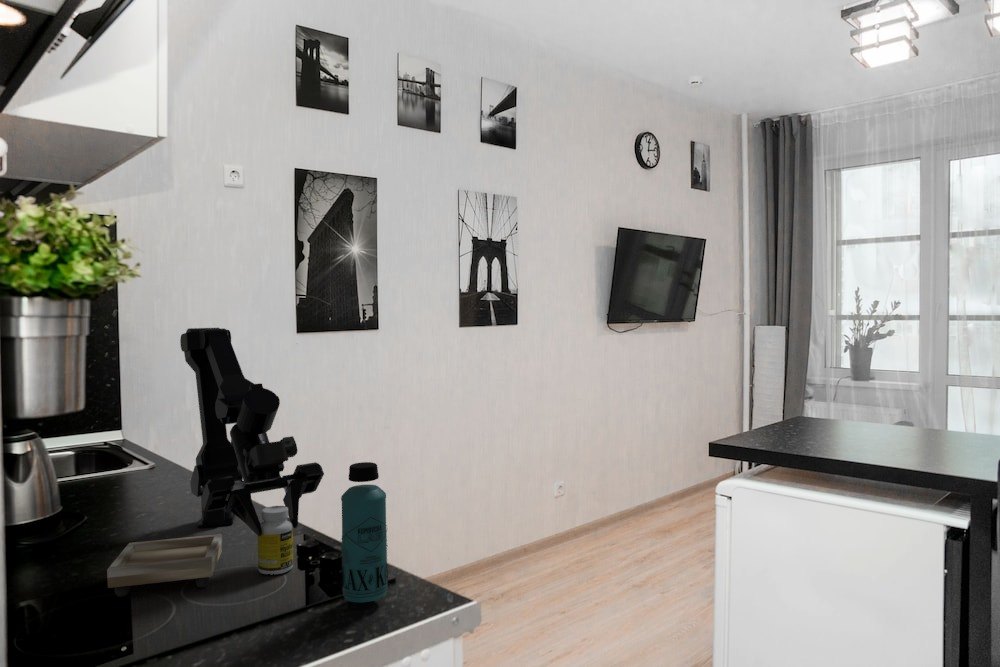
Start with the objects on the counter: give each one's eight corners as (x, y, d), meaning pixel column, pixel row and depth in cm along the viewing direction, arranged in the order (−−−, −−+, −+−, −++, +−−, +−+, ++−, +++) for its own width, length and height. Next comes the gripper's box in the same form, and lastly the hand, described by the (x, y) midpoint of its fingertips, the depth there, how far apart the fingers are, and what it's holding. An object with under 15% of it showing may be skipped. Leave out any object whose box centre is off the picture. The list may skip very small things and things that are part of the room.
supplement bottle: (284, 576, 107) (282, 514, 106) (251, 574, 108) (250, 513, 107) (299, 563, 112) (298, 504, 112) (268, 562, 113) (267, 503, 113)
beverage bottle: (333, 604, 97) (329, 464, 96) (372, 590, 101) (369, 456, 101) (358, 618, 92) (355, 471, 91) (399, 603, 97) (395, 463, 96)
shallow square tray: (130, 571, 111) (129, 542, 110) (222, 561, 114) (221, 534, 114) (108, 601, 99) (107, 569, 99) (212, 589, 103) (210, 558, 102)
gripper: (204, 428, 106) (227, 515, 98) (318, 415, 118) (347, 492, 110) (192, 469, 113) (213, 554, 105) (301, 453, 124) (328, 528, 116)
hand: (278, 530), depth 109 cm, fingers closed on supplement bottle, 5 cm apart
